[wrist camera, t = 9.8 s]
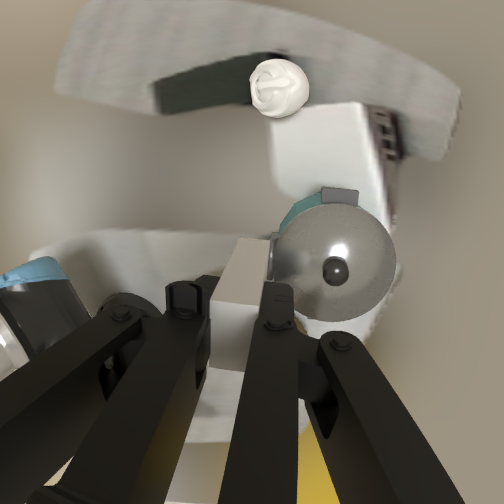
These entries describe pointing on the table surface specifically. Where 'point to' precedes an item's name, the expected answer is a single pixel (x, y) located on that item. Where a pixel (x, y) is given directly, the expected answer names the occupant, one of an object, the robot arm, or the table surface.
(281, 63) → the white swirled ball
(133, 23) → the table surface
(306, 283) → the lid
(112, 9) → the table surface
